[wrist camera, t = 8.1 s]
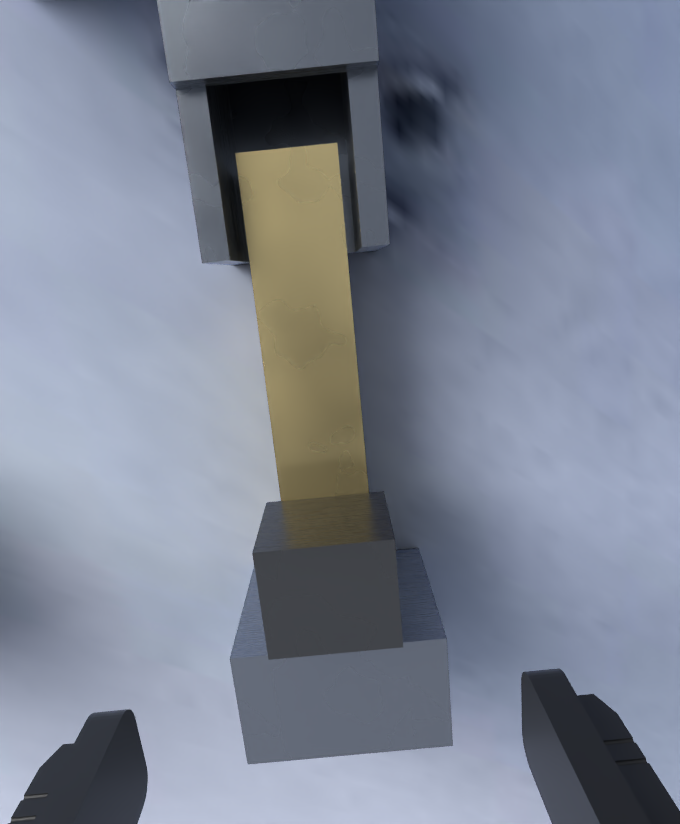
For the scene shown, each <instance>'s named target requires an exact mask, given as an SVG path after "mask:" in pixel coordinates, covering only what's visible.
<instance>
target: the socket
mask: <svg viewBox="0 0 680 824" xmlns="http://www.w3.org/2000/svg"><path fill="white" fill-rule="evenodd" d="M396 561H397V574H398V586H399V599H400V611H401V624H402V636H403V647H401V648H391V649H380V650H369V651H359V652H348V653H337V654H326V655H316V656H305V657H294V658H283V659H273V660H268V653H267V647H266V640H265V633H264V627H263V620H262V613H261V607H260V600H259V593H258V587H257V580H256V573H255V567H254V569H253V573H252V577H251V580H250V584H249V588H248V592H247V596H246V599H245V603H244V607H243V611H242V615H241V618H240V622H239V626H238V630H237V634H236V637H235V641H234V645H233V649H232V653H231V656H230V662H231V668H232V674H233V680H234V686H235V692H236V698H237V704H238V710H239V715H240V721H241V727H242V733H243V739H244V745H245V751H246V757H247V763H248V764H257V763H268V762H279V761H290V760H301V759H312V758H323V757H333V756H344V755H355V754H366V753H377V752H388V751H399V750H410V749H421V748H432V747H443V746H453V740H452V723H451V705H450V688H449V670H448V653H447V638H446V635H445V632H444V628H443V625H442V622H441V619H440V616H439V612H438V609H437V606H436V603H435V600H434V596H433V593H432V590H431V587H430V584H429V580H428V577H427V574H426V571H425V568H424V564H423V561H422V558H421V555H420V552H419V548H416V549H406V550H396Z"/></svg>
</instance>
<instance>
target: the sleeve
mask: <svg viewBox="0 0 680 824" xmlns="http://www.w3.org/2000/svg"><path fill="white" fill-rule="evenodd" d="M157 5H158V12H159V18H160V25H161V31H162V38H163V44H164V51H165V57H166V64H167V70H168V76H169V82H170V83H171V85H172V86H173V87H174V88H175V89H176V95H177V101H178V108H179V114H180V121H181V127H182V134H183V140H184V147H185V154H186V160H187V167H188V173H189V180H190V186H191V193H192V199H193V206H194V213H195V219H196V226H197V232H198V239H199V245H200V252H201V258H202V263H208V264H223V265H237V264H247V263H250V261H249V254H248V246H247V239H246V231H245V223H244V216H243V208H242V201H241V193H240V186H239V178H238V170H237V163H236V155H235V153H241V152H251V151H261V150H271V149H281V148H290V147H300V146H310V145H320V144H329V143H337V145H338V156H339V167H340V178H341V189H342V200H343V211H344V223H345V234H346V245H347V253H357V252H367V251H377V250H379V249H381V248H383V247H385V246H387V245H389V244H390V241H389V227H388V213H387V199H386V185H385V171H384V157H383V143H382V129H381V115H380V101H379V87H378V73H377V67H378V63H379V53H378V39H377V25H376V11H375V0H157Z"/></svg>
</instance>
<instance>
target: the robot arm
mask: <svg viewBox="0 0 680 824" xmlns="http://www.w3.org/2000/svg"><path fill="white" fill-rule="evenodd" d="M521 692H522V736H523V743H524V748H525V753H526V757H527V761H528V764H529V767H530V769H531V772H532V775H533V777H534V780H535V782H536V785H537V787H538V790H539V792H540V795H541V797H542V800H543V802H544V805H545V807H546V810H547V812H548V815H549V817H550V820H551V822H552V824H680V811H679V809H678V808H677V806H676V805H675V803H674V801H673V800H672V798H671V797H670V795H669V794H668V792H667V791H666V789H665V787H664V786H663V784H662V783H661V781H660V780H659V778H658V776H657V775H656V773H655V772H654V770H653V769H652V767H651V766H650V764H649V763H647V762H646V758H645V756H644V755H643V753H642V752H641V750H640V748H639V747H638V745H637V744H636V743H634V741H633V737H632V736H631V734H630V733H629V731H628V730H627V728H626V727H625V725H624V723H623V722H622V720H621V719H620V717H619V716H618V714H617V713H616V712H615V711H613V710H612V709H611V708H610V707H609V706H607V705H606V704H605V703H604V702H603V701H601V700H600V699H599V698H598V697H596V696H595V695H594V694H589V695H579V696H577V695H576V693H575V691H574V689H573V688H572V686H571V684H570V682H569V681H568V679H567V677H566V676H565V674H564V672H563V671H562V670H561V669H549V670H539V671H529V672H523V673H522V677H521ZM147 781H148V775H147V766H146V762H145V758H144V753H143V749H142V745H141V741H140V736H139V732H138V728H137V724H136V720H135V716H134V714H133V712H132V711H131V710H118V711H108V712H98V713H93V714H91V715H90V716H89V717H88V719H87V720H86V722H85V724H84V726H83V728H82V730H81V732H80V734H79V736H78V737H77V739H76V741H75V743H74V744H64V745H62V746H61V747H60V748H59V749H58V750H57V751H56V752H55V753H54V754H53V755H52V756H51V757H50V758H49V759H48V760H47V761H46V762H45V763H44V764H43V765H42V766H41V767H40V768H39V770H38V772H37V773H36V775H35V777H34V779H33V780H32V782H31V784H30V786H29V788H28V789H27V791H26V793H25V795H24V800H22V801H21V802H20V803H19V805H18V807H17V809H16V810H15V812H14V814H13V816H12V817H11V823H9V824H137V823H138V820H139V817H140V814H141V811H142V809H143V805H144V802H145V798H146V792H147Z"/></svg>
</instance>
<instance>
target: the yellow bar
mask: <svg viewBox="0 0 680 824" xmlns="http://www.w3.org/2000/svg"><path fill="white" fill-rule="evenodd" d="M235 155H236V163H237V170H238V178H239V186H240V193H241V201H242V208H243V216H244V223H245V231H246V239H247V246H248V254H249V261H250V269H251V276H252V284H253V291H254V299H255V307H256V314H257V322H258V329H259V337H260V344H261V352H262V359H263V367H264V375H265V382H266V390H267V397H268V405H269V412H270V420H271V428H272V435H273V443H274V450H275V458H276V465H277V473H278V480H279V488H280V496H281V501H278V502H268V503H266V507H265V510H264V514H263V517H262V521H261V524H260V528H259V532H258V535H257V539H256V542H255V546H254V549H253V560H254V567H255V573H256V580H257V587H258V593H259V600H260V607H261V613H262V620H263V627H264V633H265V640H266V647H267V653H268V660H273V659H283V658H294V657H305V656H316V655H326V654H337V653H348V652H359V651H369V650H380V649H391V648H401V647H403V636H402V624H401V611H400V599H399V586H398V574H397V561H396V549H395V538H394V534H393V530H392V525H391V521H390V517H389V513H388V508H387V504H386V500H385V496H384V491H382V492H372V493H369V489H368V478H367V466H366V455H365V444H364V433H363V422H362V411H361V400H360V389H359V378H358V367H357V356H356V344H355V333H354V322H353V311H352V300H351V289H350V278H349V267H348V256H347V245H346V234H345V223H344V211H343V200H342V189H341V178H340V167H339V156H338V145H337V143H329V144H320V145H310V146H300V147H290V148H281V149H271V150H261V151H251V152H241V153H235Z"/></svg>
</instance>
